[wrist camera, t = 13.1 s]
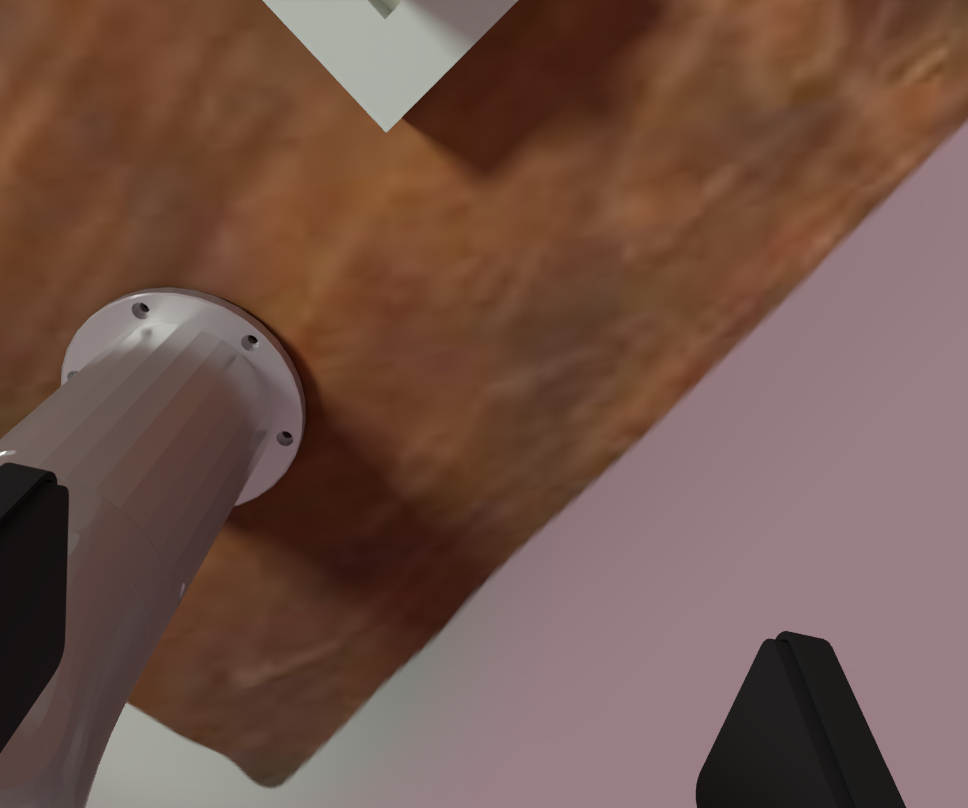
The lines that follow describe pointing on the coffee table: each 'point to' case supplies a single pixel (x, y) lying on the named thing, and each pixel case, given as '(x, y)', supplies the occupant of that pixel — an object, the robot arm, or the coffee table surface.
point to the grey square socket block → (388, 44)
